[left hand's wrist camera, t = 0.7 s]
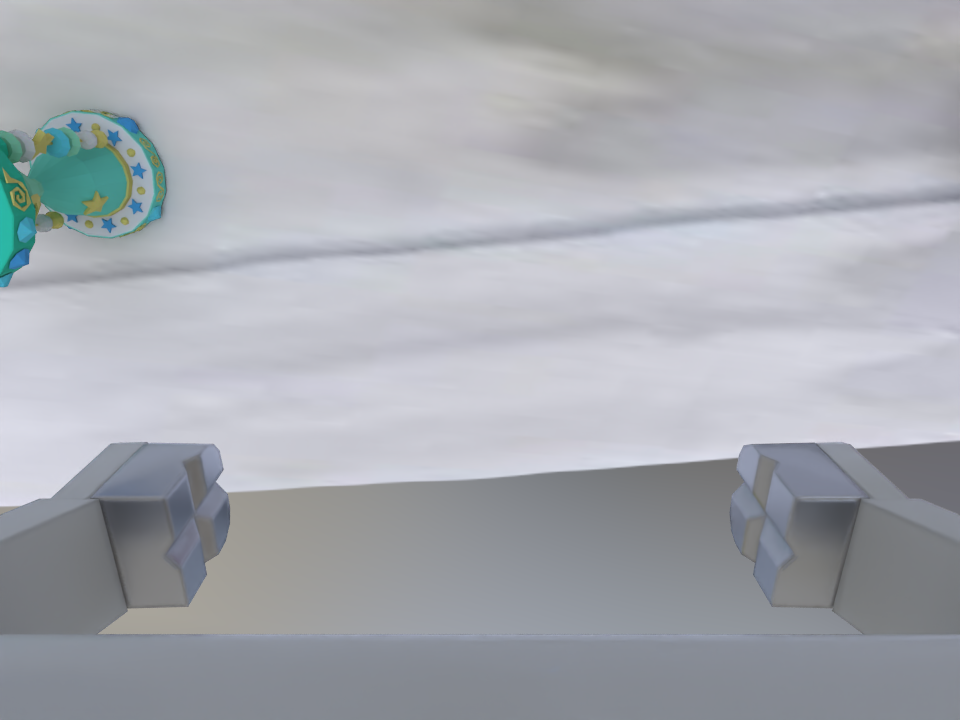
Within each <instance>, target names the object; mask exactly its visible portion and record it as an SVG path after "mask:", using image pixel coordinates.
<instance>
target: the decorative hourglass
mask: <svg viewBox="0 0 960 720" xmlns="http://www.w3.org/2000/svg"><path fill="white" fill-rule="evenodd" d="M19 161H20V162H22V163H24V162H27V161H29V162H30V168H31V169H30V172H29V174H28V177H27V176H25V175H24V174H23V173H21V172H20V171H18V170H17V169H16V167H15V166H14V165H13V163H16V162H19ZM165 193H166V186H165V175H164V167H163V165H162V163H161V161H160V159H159V157H158V154H157V152H156V150H155V148H154V146H153V144H152V143H151V142H150V141H149V140H148V139H147V138H146V137H145V136H144V135H143V134H142V133H141V132H140V131H139V129H138V127H137V125H136V123H135V122H134V120H132V119H130V118H121V117H117V116H115V115H113V114H111V113H107V112H101V111H98V110H94V111H92V110H91V109H90V110H81V111H76V110H74V111H69V112H66V113H63V114H62V115H59V116H56V117H54V118H51V119H49V121H48V122H47V123H46V124H45V125H44V126H43V127H42V128H40V129H37V130H36V133H35V136H34V138H33V139H31V138H30V137H29V136H28V135H27V134H26V133H24V132H21V131H18V130H13V131H10V132H5V131H3V130H2V131H0V287H7V286H8V284H9V282H10V280H11V278H12V275H13V273H14V272H15V271H17V270H18V269H20V268H22V266H25V265H27V264H29V253H30V251H31V249H32V247H33V245H34V243H35V234H36V233H37V231H39V232H47V231H50V230H51V229H58V228H60V227H62V225H63V224H64V225H66V226H67V227H68V228H69V229H74V230H76V231H78V232H81V233H83V234H85V235H87V236H92V237H102V238H115V237H118V236H119V237H122V236H125V235H128V234H131V233H134V232H136V231H140V230H141V229H143V228H144V227H145V226H146V225H147V224H148V223H149V222H151V221H153V220H156V219H159V218H161V205H162V202H163V199H164V196H165ZM41 203H43V204H44V205H45V207H46V208H48V209H49V210H50V212H48V213H46V215H44V214H38V212H39V209H40V206H41ZM35 209H36V210H35ZM36 230H37V231H36ZM130 232H131V233H130ZM124 234H125V235H124ZM121 235H122V236H121Z"/></svg>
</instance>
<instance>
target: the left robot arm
mask: <svg viewBox="0 0 960 720" xmlns="http://www.w3.org/2000/svg"><path fill="white" fill-rule="evenodd" d="M223 470H224V469H223V464H222V460H221V455H220V451H219V449H218V448H217V447H216V446H215V445H214V444H191V443H147V442H130V443H113V444H110V445H109V446H108V447H107V448H105V449H104V450H103V451H102V452H101V453H100V454H99V455H98V456H97V457H96V458H95V459H93V460H92V461H91V462H90V463H89V464H88V465H87V466H86V467H85V468H84V469H82V470H81V471H80V472H79V473H78V474H77V475H76V476H75V477H74V478H73V479H72V480H70V481H69V482H68V483H67V484H66V485H65V486H64V487H63V488H62V489H61V490H59V491H58V492H57V493H56V494H55V495H54V496H53V497H52V498H51V499H38V500H35V501H33V502H30V503H28V504H25V505H23V506H20V507H18V508H16V509H13V510H11V511H8V512H6V513H3V514H1V515H0V720H960V515H959V514H957V513H954V512H952V511H949V510H947V509H944V508H942V507H939V506H937V505H935V504H932V503H930V502H927V501H925V500H922V499H909V498H908V497H907V496H906V495H905V494H904V493H903V492H902V491H901V490H900V489H898V488H897V487H896V486H895V485H894V484H893V483H892V482H891V481H890V480H889V479H887V478H886V477H885V476H884V475H883V474H882V473H881V472H880V471H879V470H878V469H877V468H875V467H874V466H873V465H872V464H871V463H870V462H869V461H868V460H867V459H866V458H865V457H863V456H862V455H861V454H860V453H859V452H858V451H857V450H856V449H855V448H854V447H853V446H851V445H850V444H847V443H844V442H828V443H780V444H750V445H744V446H743V448H742V450H741V452H740V454H739V458H738V464H737V471H738V473H739V474H740V476H741V477H742V479H743V480H744V483H743V484H742V485H741V486H740V487H739V488H738V489H737V490H736V491H735V492H734V493H733V494H732V500H731V507H730V521H731V531H732V534H733V537H734V541H735V543H736V545H737V547H738V549H739V551H740V553H741V554H742V555H743V556H745V557H747V558H748V559H750V560H751V561H753V562H755V567H754V573H753V575H754V577H755V578H756V580H757V582H758V584H759V585H760V587H761V589H762V590H763V592H764V594H765V595H766V597H767V599H768V601H769V602H770V604H771V606H772V607H800V608H833V610H832V611H833V612H834V613H836V614H837V615H838V616H840V617H841V618H842V619H844V620H845V621H846V622H848V623H849V624H850V625H852V626H853V627H854V628H856V629H857V630H858V631H860V632H861V633H862V634H98V633H99V632H101V631H102V630H103V629H105V628H106V627H107V626H109V625H110V624H111V623H113V622H114V621H115V620H117V619H118V618H119V617H121V616H122V615H123V614H125V613H126V612H127V608H158V607H188V606H189V604H190V602H191V601H192V599H193V597H194V596H195V594H196V592H197V590H198V589H199V587H200V585H201V584H202V582H203V580H204V579H205V577H206V575H207V573H206V567H205V562H207V561H209V560H210V559H212V558H213V557H215V556H217V555H218V554H219V553H220V551H221V549H222V547H223V545H224V543H225V541H226V537H227V533H228V529H229V525H230V505H229V499H228V494H227V493H226V492H225V491H224V490H223V489H222V488H221V487H220V486H219V485H218V484H217V483H216V480H217V479H218V477H219V476H220V474H221V473H222V471H223Z"/></svg>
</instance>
